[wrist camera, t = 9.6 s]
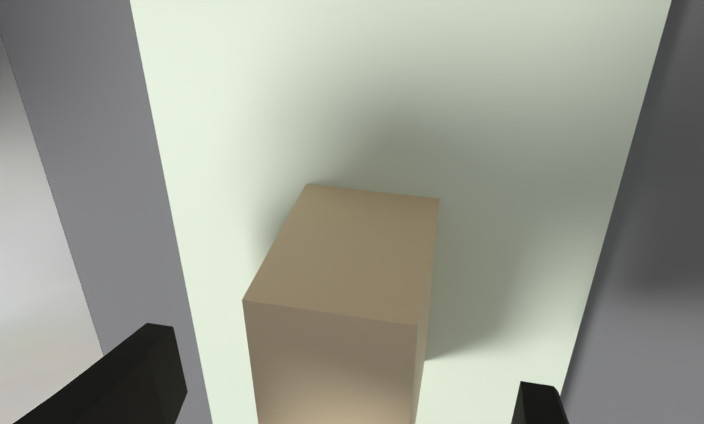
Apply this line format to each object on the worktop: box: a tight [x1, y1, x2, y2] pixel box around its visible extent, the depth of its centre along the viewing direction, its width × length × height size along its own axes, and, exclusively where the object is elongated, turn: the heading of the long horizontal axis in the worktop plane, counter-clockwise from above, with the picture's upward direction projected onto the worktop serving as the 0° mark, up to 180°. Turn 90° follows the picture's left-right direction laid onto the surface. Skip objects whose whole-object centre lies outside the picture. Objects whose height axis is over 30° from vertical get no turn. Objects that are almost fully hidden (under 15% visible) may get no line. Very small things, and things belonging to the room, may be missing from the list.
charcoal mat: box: [0, 0, 704, 424], centre depth 16 cm, size 18×16×1 cm
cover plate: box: [130, 0, 672, 424], centre depth 13 cm, size 10×14×5 cm
